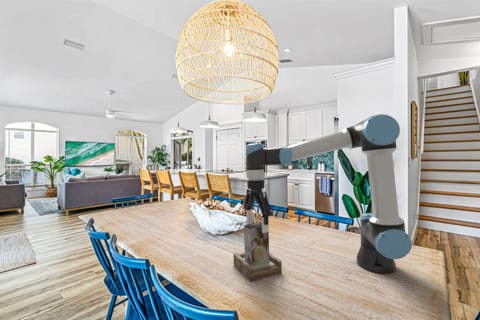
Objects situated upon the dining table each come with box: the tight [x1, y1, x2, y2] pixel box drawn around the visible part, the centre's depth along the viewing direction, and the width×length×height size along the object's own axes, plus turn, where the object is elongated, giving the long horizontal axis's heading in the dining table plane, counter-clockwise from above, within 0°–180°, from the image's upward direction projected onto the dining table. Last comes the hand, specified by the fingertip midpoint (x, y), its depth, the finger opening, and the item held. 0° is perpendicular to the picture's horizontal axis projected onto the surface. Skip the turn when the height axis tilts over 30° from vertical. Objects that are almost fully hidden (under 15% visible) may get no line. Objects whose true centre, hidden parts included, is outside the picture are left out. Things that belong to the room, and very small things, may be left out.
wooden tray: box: [233, 252, 283, 283], centre depth 102 cm, size 16×15×5 cm
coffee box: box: [243, 221, 270, 266], centre depth 102 cm, size 9×6×16 cm
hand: (257, 228), depth 101 cm, fingers open, 13 cm apart
